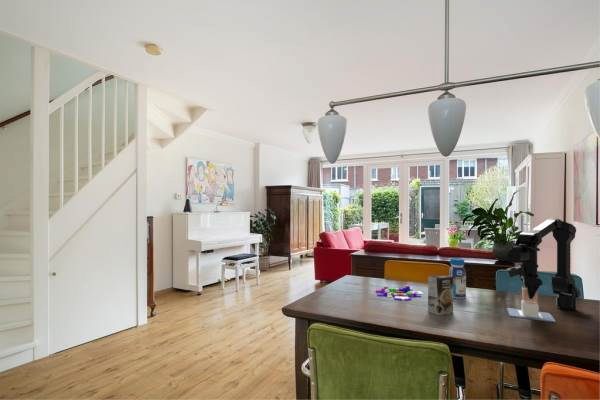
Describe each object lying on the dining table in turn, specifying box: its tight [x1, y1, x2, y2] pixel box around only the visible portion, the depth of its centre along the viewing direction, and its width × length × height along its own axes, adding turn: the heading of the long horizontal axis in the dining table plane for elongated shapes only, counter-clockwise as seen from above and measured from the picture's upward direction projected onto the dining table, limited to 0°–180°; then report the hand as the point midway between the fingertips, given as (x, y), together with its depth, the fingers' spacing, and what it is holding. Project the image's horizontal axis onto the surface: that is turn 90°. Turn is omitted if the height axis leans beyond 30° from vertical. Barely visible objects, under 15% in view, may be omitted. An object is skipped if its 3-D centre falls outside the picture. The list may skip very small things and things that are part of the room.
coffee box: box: [427, 274, 454, 316], centre depth 146 cm, size 9×6×16 cm
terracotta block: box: [521, 286, 539, 303], centre depth 143 cm, size 5×5×5 cm
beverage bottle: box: [448, 257, 467, 300], centre depth 172 cm, size 8×8×20 cm
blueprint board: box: [506, 307, 557, 323], centre depth 142 cm, size 16×12×1 cm
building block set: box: [375, 284, 424, 302], centre depth 175 cm, size 25×20×4 cm
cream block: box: [520, 299, 540, 317], centre depth 143 cm, size 6×6×5 cm
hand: (529, 297), depth 143 cm, fingers closed on terracotta block, 5 cm apart
